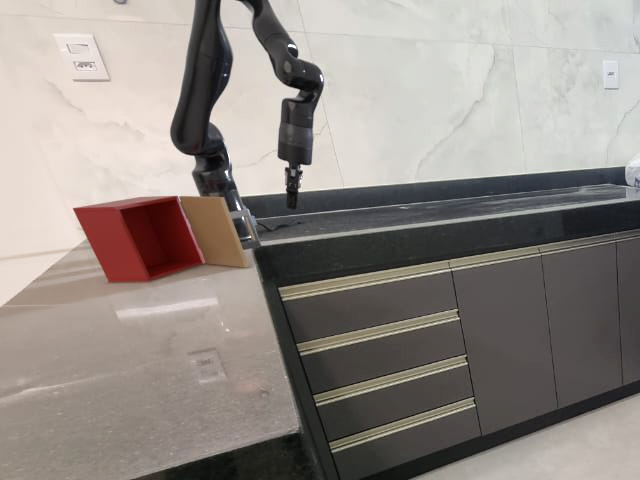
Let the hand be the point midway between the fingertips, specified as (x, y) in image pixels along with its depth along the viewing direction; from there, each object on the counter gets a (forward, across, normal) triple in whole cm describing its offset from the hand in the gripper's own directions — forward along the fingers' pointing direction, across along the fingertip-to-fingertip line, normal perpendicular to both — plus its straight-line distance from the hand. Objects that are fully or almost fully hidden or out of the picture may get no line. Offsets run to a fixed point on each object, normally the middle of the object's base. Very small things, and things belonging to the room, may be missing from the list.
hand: (291, 205), depth 142 cm
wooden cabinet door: (+14, -10, +10) cm, 20 cm away
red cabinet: (+20, -9, +25) cm, 34 cm away
